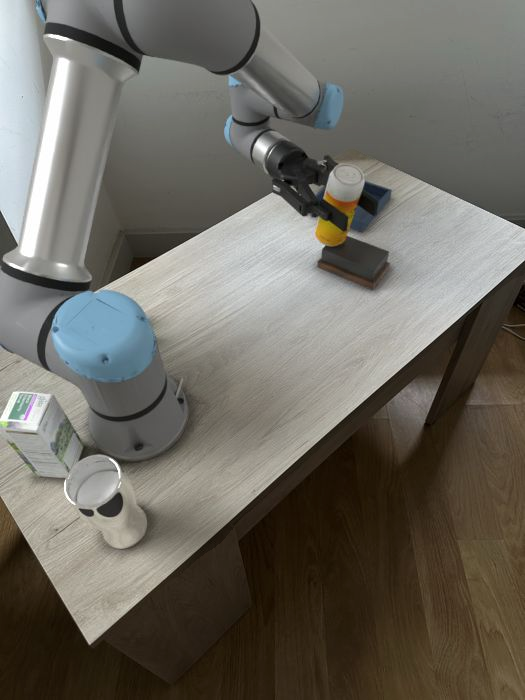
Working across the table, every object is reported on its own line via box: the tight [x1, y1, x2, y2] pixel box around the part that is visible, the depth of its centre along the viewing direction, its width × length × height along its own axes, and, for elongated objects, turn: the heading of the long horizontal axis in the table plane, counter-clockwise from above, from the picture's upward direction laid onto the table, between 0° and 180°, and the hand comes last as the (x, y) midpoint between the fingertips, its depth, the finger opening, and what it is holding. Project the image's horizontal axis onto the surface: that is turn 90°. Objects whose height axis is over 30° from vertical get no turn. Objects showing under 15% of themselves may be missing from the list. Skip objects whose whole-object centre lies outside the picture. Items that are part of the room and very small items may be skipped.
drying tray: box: [315, 180, 393, 234], centre depth 112 cm, size 13×13×3 cm
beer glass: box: [63, 454, 148, 550], centre depth 65 cm, size 7×7×15 cm
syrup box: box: [0, 391, 85, 479], centre depth 72 cm, size 6×6×14 cm
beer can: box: [314, 162, 366, 247], centre depth 93 cm, size 6×6×15 cm
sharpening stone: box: [317, 235, 391, 291], centre depth 99 cm, size 12×7×4 cm, turn 56°
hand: (361, 216), depth 89 cm, fingers closed on beer can, 6 cm apart
